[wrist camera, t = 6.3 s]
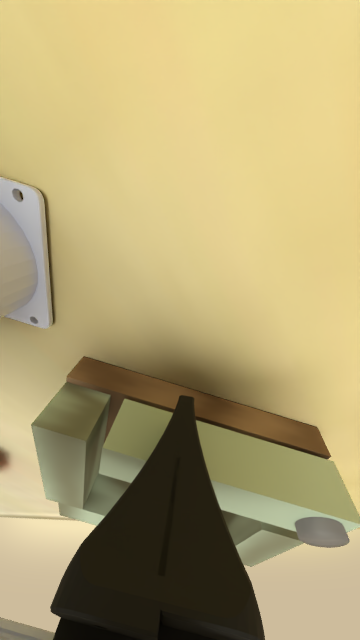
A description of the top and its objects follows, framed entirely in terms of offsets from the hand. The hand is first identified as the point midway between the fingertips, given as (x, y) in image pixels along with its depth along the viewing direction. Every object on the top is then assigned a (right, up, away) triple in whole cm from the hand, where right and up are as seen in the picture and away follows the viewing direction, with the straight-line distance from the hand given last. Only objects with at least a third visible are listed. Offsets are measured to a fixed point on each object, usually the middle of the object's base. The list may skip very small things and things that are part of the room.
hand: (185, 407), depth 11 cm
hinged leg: (+3, -3, +2) cm, 5 cm away
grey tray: (-1, -6, +7) cm, 9 cm away
